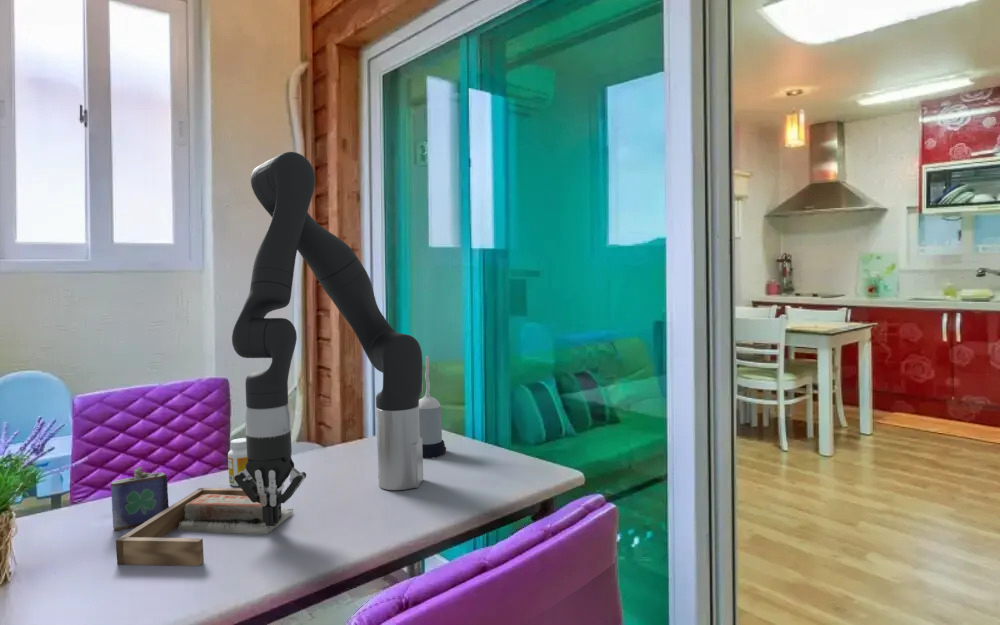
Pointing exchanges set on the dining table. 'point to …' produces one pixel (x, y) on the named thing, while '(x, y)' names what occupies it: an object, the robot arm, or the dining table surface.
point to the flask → (138, 498)
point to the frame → (148, 537)
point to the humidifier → (430, 422)
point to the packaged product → (227, 515)
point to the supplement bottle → (237, 459)
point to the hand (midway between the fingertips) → (272, 524)
